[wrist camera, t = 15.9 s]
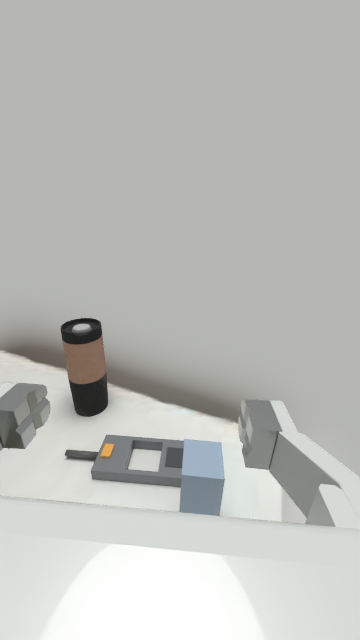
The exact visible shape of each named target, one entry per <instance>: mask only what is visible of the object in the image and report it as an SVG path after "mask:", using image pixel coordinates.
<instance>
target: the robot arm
mask: <svg viewBox="0 0 360 640" xmlns="http://www.w3.org/2000/svg"><path fill="white" fill-rule="evenodd" d="M46 395H47V389H46V386H44V385H38V384H27V383H14V382H7V383H4V384H3V385H2V386H0V451H1V450H2V449H3V448H18V449H25V448H26V447H27V445H28V444H29V443H30V442H31V440H32V439H33V438H34V436H35V435H36V429H38V428H39V427H41V426H43V425H44V423H45V422H46V421H47V419H48V416H49V414H50V402H49V401H48V400H47V399H46V398H45V396H46ZM241 410H242V414H241V415H239V422H238V430H239V438H240V441H241V442H242V443H243V449H242V453H243V457H244V462H245V467H249V468H258V469H266V470H269V471H270V473H271V474H272V475H273V476H274V478H275V479H276V480H277V481H278V483H279V484H280V485H281V486H282V488H283V489H284V490H285V491H286V492H287V494H288V495H289V496H290V498H291V499H292V500H293V501H294V503H295V504H296V505H297V506H298V507H299V509H300V510H301V511H302V513H303V514H304V515H305V516H306V518H307V520H306V522H305V524H300V523H288V522H279V521H268V520H257V519H246V518H236V517H225V516H214V515H204V514H193V513H182V512H171V511H161V510H150V509H139V508H128V507H117V506H107V505H96V504H85V503H74V502H63V501H53V500H42V499H32V498H21V497H10V496H0V640H360V477H358V476H357V475H356V474H355V473H353V472H352V471H351V470H349V469H348V468H347V467H345V466H344V465H343V464H341V463H340V462H339V461H338V460H336V459H335V458H334V457H333V456H331V455H330V454H329V453H327V452H326V451H325V450H323V449H322V448H321V447H319V446H318V445H317V444H316V443H314V442H313V441H312V440H310V439H309V438H308V437H307V436H305V435H304V434H302V433H298V431H297V429H296V427H295V425H294V423H293V421H292V419H291V417H290V415H289V413H288V411H287V409H286V407H285V405H284V403H283V402H282V401H278V400H255V399H242V402H241Z"/></svg>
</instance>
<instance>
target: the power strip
mask: <svg viewBox="0 0 360 640" xmlns="http://www.w3.org/2000/svg"><path fill="white" fill-rule="evenodd" d="M133 448H140V449H152V450H162V453H161V459H160V465H159V472H152V471H141V470H129V469H127V468H128V465H129V461H130V458H131V454H132V451H133ZM183 450H184V441H179V440H167V439H154V438H142V437H129V436H117V435H106V437H105V439H104V441H103V444H102V446H101V448H100V451H99V452H90V451H78V450H66V453H65V456H70V457H82V458H94V459H96V460H95V462H94V465H93V467H92V469H91V474H92V479H99V480H110V481H121V482H132V483H143V484H155V485H166V486H177V487H181V476H182V463H183Z"/></svg>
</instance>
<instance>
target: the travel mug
mask: <svg viewBox="0 0 360 640" xmlns="http://www.w3.org/2000/svg"><path fill="white" fill-rule="evenodd" d="M61 334H62V340H63V346H64V353H65V359H66V366H67V372H68V378H69V383H70V388H71V393H72V397H73V402H74V406H75V410H76V412H77V413H78V414H79V415H81V416H93V415H96V414H98V413H100V412H102V411H103V410H104V409H105V408H106V407H107V404H108V392H107V376H106V365H105V356H104V347H103V338H102V329H101V323H100V321H98V320H96V319H91V318H81V319H75V320H71V321H68V322H66V323H64V324H63V325H62V326H61Z"/></svg>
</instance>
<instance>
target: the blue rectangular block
mask: <svg viewBox="0 0 360 640" xmlns="http://www.w3.org/2000/svg"><path fill="white" fill-rule="evenodd" d="M224 480H225V478H224V467H223V456H222V445H221V443H220V442H209V441H199V440H188V439H184V450H183V463H182V476H181V496H180V512H182V513H193V514H204V515H214V516H219V513H220V507H221V500H222V493H223V487H224Z"/></svg>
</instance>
